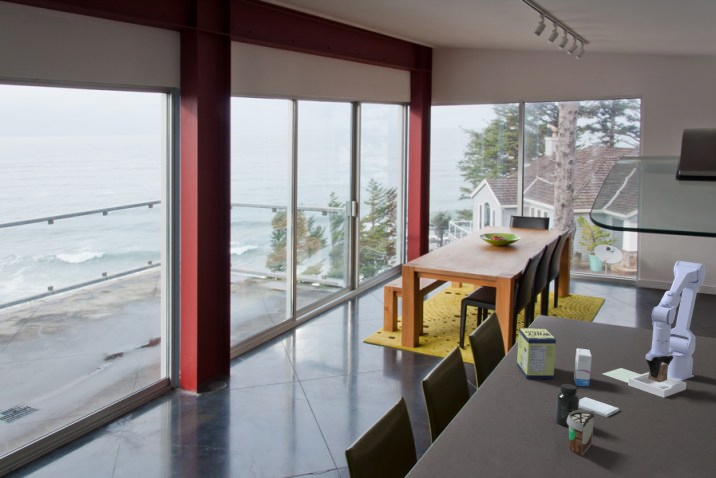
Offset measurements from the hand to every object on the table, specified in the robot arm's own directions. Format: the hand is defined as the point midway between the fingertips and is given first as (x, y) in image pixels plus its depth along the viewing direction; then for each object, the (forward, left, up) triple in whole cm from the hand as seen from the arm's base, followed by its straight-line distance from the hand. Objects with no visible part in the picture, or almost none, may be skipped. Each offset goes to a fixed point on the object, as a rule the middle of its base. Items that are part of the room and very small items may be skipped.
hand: (657, 375), depth 256 cm
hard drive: (+34, -1, -6) cm, 35 cm away
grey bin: (0, 0, -5) cm, 5 cm away
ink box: (+18, -19, -5) cm, 27 cm away
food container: (+64, +14, -5) cm, 66 cm away
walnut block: (0, 0, -1) cm, 1 cm away
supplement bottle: (+52, +1, -5) cm, 52 cm away
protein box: (+24, -36, -5) cm, 44 cm away
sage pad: (-1, -14, -5) cm, 15 cm away
